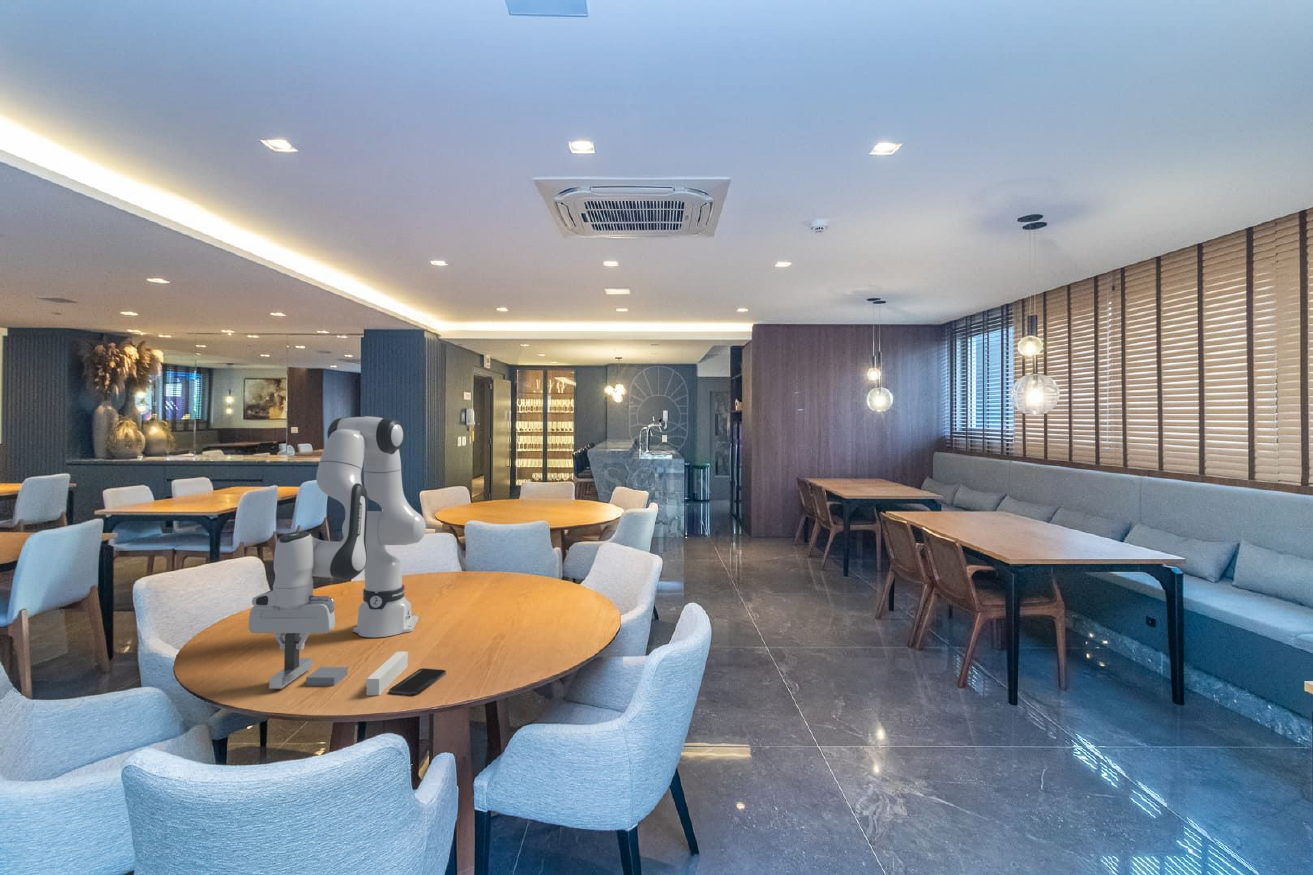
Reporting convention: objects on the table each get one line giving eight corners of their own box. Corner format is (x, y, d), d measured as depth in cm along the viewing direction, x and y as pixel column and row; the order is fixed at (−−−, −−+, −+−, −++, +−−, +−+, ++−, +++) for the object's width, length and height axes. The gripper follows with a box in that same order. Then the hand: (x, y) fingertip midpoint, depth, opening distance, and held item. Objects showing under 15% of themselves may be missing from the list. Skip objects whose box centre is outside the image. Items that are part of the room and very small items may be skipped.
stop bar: (396, 666, 165) (396, 651, 165) (407, 666, 165) (407, 651, 165) (366, 695, 146) (366, 678, 146) (378, 695, 146) (379, 678, 146)
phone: (387, 690, 147) (421, 667, 162) (387, 695, 147) (421, 671, 162) (416, 693, 146) (448, 670, 160) (416, 697, 146) (447, 674, 160)
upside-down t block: (300, 667, 161) (301, 624, 161) (311, 667, 161) (312, 624, 161) (269, 688, 147) (270, 641, 147) (281, 688, 147) (282, 641, 147)
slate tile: (320, 676, 158) (320, 666, 158) (347, 676, 158) (347, 667, 158) (305, 687, 151) (306, 677, 151) (334, 687, 151) (334, 677, 151)
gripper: (340, 592, 158) (339, 645, 158) (260, 592, 157) (259, 645, 157) (328, 599, 152) (327, 653, 151) (245, 598, 151) (244, 653, 150)
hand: (292, 649), depth 154 cm, fingers closed on upside-down t block, 2 cm apart
